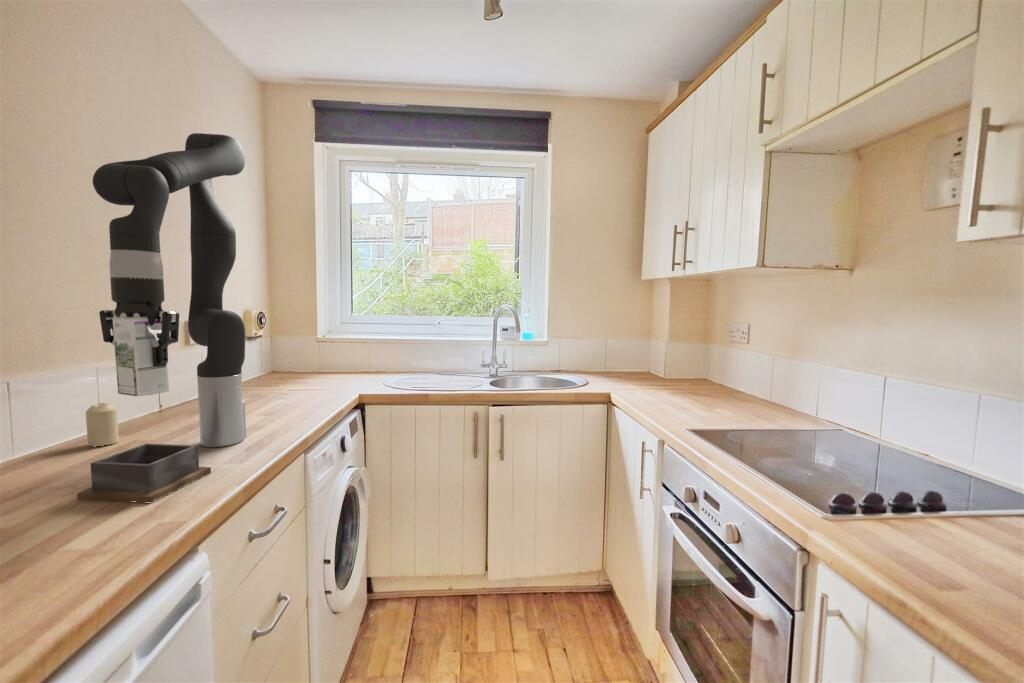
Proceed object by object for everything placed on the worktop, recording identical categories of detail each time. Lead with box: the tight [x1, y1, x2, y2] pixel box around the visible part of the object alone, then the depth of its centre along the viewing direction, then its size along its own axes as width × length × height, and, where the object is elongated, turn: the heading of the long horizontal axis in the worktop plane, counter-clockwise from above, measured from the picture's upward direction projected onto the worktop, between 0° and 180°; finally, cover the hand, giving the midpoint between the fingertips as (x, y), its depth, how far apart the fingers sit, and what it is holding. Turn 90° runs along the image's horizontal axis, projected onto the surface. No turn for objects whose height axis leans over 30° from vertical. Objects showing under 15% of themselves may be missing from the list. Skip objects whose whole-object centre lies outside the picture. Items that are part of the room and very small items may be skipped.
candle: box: [85, 402, 119, 447], centre depth 108 cm, size 6×6×10 cm
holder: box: [76, 443, 212, 503], centre depth 85 cm, size 14×14×6 cm
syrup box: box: [112, 317, 170, 397], centre depth 83 cm, size 6×6×14 cm
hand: (142, 365), depth 83 cm, fingers closed on syrup box, 6 cm apart
